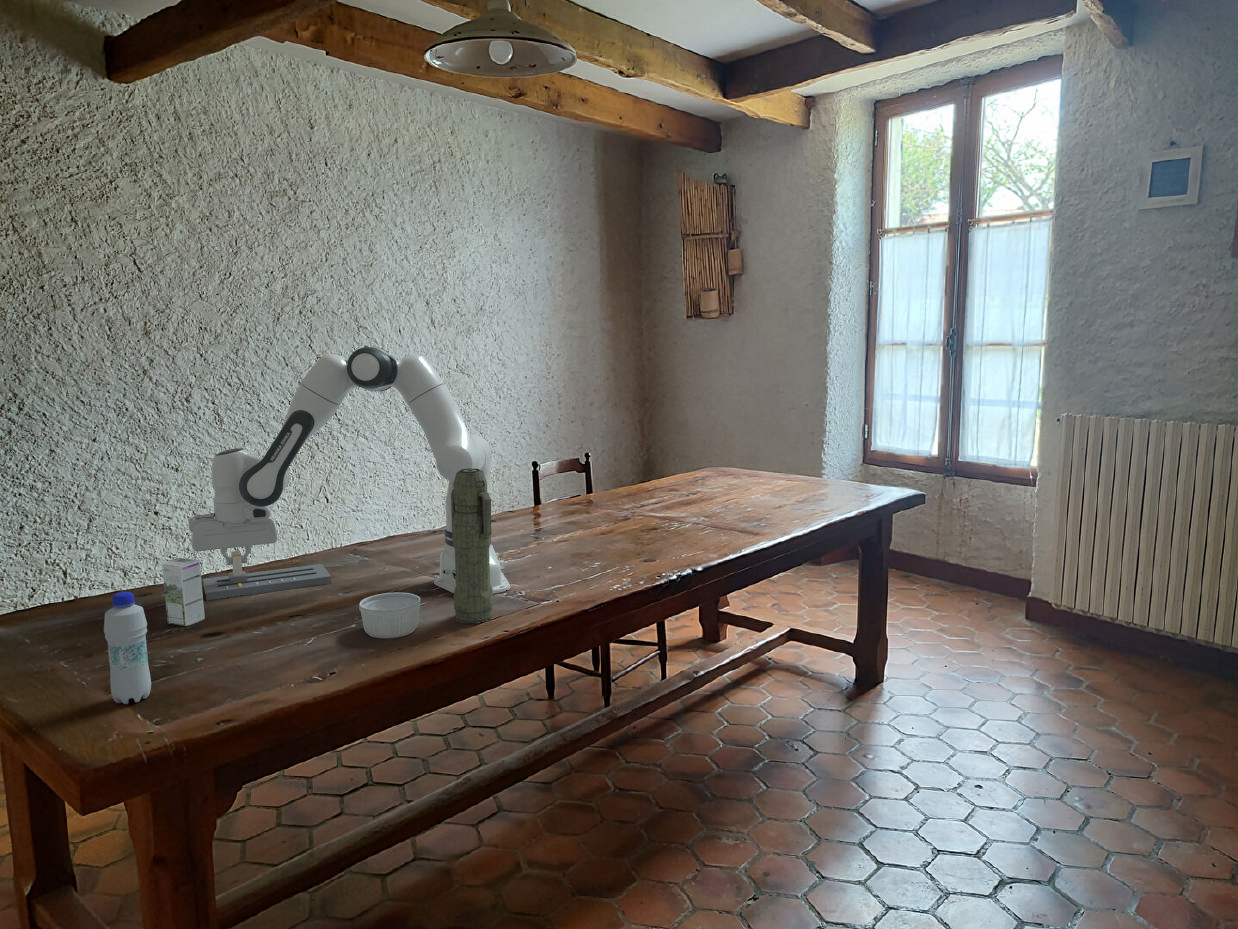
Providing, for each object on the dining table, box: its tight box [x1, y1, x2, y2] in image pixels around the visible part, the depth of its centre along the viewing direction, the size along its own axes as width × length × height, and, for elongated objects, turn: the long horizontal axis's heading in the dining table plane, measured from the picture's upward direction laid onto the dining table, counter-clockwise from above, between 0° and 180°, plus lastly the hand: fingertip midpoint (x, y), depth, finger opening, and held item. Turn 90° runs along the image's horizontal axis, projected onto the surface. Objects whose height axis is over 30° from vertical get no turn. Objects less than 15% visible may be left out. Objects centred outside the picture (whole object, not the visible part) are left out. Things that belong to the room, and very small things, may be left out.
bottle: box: [103, 591, 152, 705], centre depth 148 cm, size 7×7×20 cm
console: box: [202, 563, 332, 601], centre depth 219 cm, size 14×30×2 cm, turn 119°
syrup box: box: [161, 557, 206, 627], centre depth 190 cm, size 6×6×14 cm
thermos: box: [451, 468, 494, 624], centre depth 191 cm, size 9×12×35 cm
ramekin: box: [358, 592, 422, 639], centre depth 185 cm, size 13×13×7 cm
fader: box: [228, 550, 247, 584], centre depth 215 cm, size 5×4×8 cm
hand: (236, 563), depth 215 cm, fingers closed on fader, 2 cm apart
